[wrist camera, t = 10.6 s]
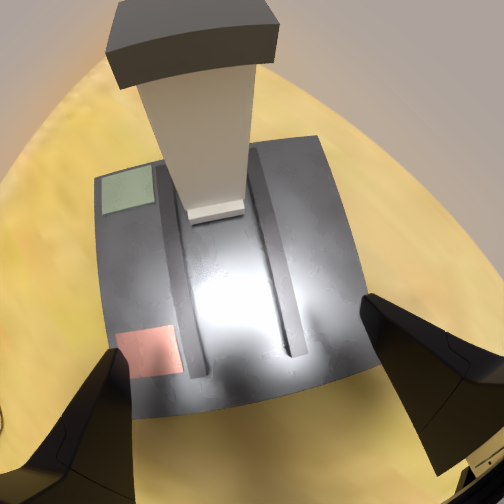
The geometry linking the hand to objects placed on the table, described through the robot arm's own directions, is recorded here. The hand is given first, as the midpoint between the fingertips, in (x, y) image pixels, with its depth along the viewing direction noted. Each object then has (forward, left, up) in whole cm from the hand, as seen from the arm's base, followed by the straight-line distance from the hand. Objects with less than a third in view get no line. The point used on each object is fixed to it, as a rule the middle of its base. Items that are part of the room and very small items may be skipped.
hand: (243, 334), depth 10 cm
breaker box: (+2, +4, -6) cm, 8 cm away
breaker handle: (+3, +7, -4) cm, 8 cm away
